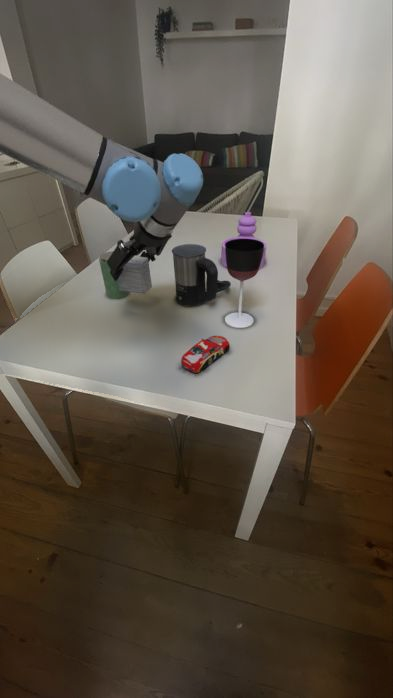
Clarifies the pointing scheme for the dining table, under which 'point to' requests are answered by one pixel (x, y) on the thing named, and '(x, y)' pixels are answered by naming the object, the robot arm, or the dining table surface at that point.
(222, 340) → the race car
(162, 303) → the dining table surface
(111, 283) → the green can
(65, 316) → the dining table surface
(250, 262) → the wineglass
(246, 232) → the purple rounded knobbed piece
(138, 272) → the medicine box
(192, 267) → the milk frother
